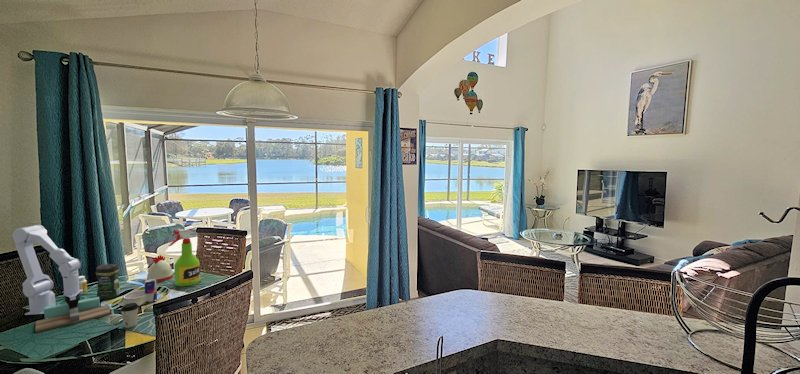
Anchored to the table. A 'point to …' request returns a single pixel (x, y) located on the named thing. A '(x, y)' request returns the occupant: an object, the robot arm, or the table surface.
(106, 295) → the coffee jar
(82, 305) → the batten
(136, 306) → the coffee cup
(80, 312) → the balance board
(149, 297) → the energy drink
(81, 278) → the supplement bottle
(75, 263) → the robot arm
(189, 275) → the spray bottle
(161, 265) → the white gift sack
